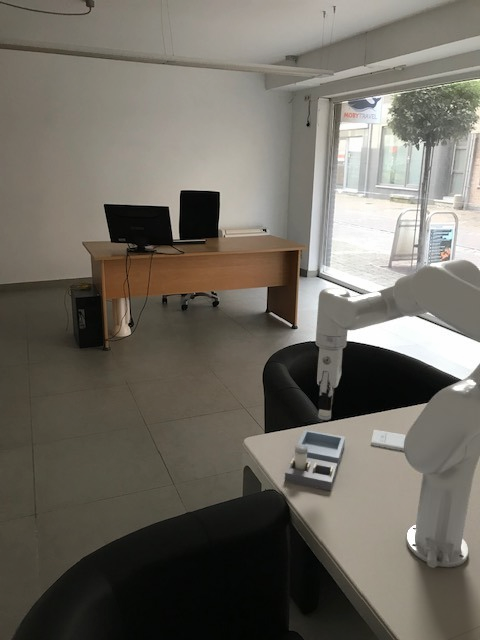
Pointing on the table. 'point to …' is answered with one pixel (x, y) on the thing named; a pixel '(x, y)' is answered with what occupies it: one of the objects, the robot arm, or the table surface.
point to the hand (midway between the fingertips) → (325, 405)
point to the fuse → (300, 457)
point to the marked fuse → (325, 412)
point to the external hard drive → (388, 440)
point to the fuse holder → (312, 473)
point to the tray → (323, 446)
